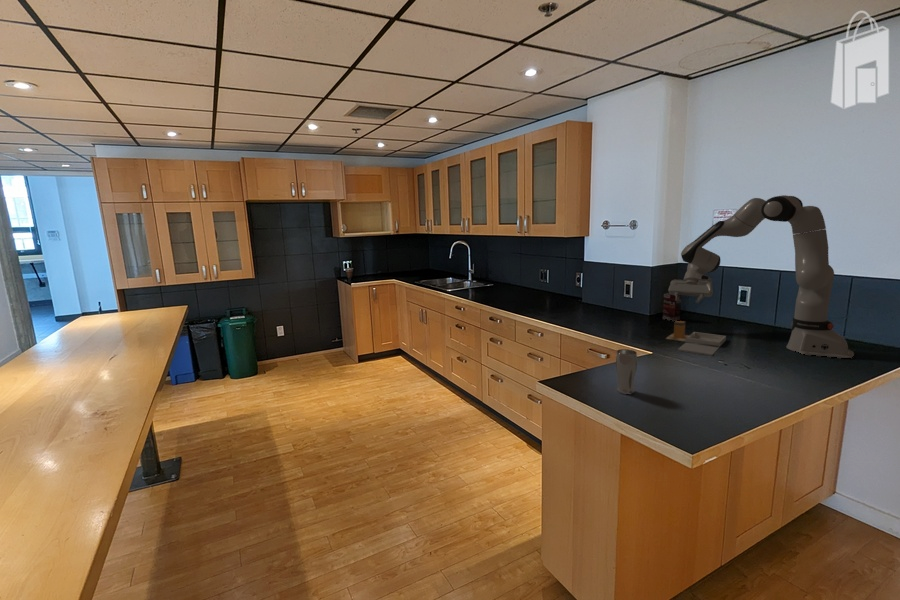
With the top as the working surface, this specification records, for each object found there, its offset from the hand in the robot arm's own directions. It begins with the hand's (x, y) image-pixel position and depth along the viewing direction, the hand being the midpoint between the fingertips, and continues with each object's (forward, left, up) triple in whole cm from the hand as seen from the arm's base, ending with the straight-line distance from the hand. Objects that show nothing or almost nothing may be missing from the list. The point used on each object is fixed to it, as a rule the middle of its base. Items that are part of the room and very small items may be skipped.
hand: (686, 301), depth 217 cm
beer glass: (-4, +92, -18) cm, 94 cm away
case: (-12, +18, -18) cm, 28 cm away
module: (0, +11, -17) cm, 20 cm away
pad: (0, +11, -18) cm, 21 cm away
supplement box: (+15, -29, -18) cm, 37 cm away
